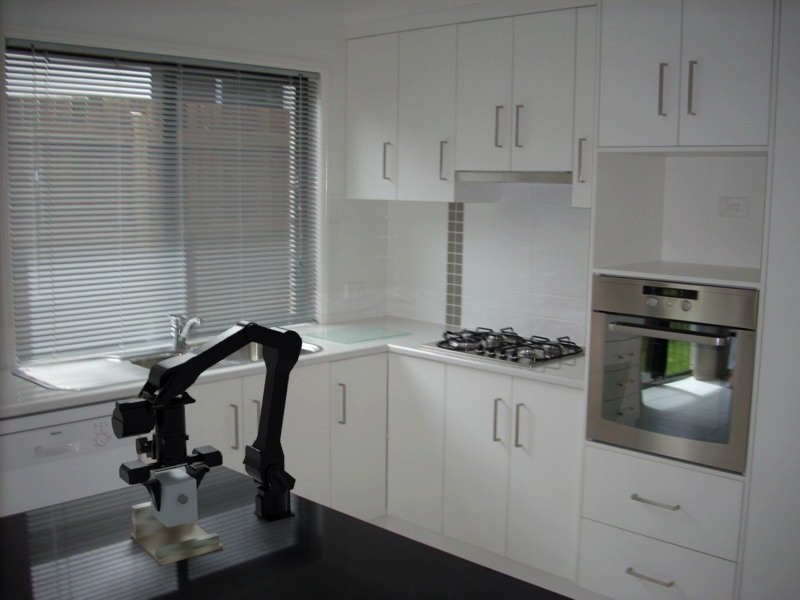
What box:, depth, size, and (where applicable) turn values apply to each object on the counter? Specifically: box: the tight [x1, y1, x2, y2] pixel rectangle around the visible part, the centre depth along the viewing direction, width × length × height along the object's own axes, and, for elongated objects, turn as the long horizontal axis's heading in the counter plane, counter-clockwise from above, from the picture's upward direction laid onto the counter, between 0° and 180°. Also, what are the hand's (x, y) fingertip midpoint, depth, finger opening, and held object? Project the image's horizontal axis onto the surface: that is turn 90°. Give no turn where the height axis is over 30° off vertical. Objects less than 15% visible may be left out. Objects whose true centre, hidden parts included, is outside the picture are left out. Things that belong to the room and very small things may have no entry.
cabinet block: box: [150, 468, 199, 528], centre depth 164 cm, size 6×9×8 cm, turn 37°
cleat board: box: [130, 500, 224, 566], centre depth 165 cm, size 12×16×7 cm
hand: (173, 507), depth 165 cm, fingers closed on cabinet block, 6 cm apart
